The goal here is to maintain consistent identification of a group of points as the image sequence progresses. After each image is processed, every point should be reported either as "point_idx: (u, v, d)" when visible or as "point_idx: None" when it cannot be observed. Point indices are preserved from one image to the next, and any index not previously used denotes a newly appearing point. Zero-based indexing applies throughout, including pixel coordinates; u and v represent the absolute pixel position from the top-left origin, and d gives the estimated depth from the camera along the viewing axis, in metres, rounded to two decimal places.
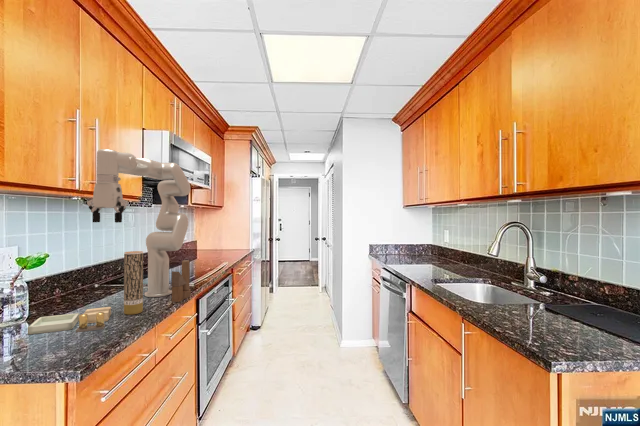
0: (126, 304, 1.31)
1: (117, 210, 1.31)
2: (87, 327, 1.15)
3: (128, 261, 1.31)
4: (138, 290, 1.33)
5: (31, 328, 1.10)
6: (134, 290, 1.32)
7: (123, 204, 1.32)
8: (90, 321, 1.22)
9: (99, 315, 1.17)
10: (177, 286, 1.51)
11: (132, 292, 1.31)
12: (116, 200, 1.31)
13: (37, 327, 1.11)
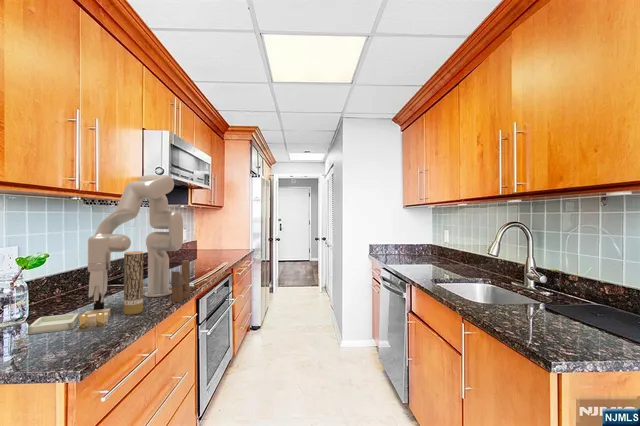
0: (126, 304, 1.31)
1: (103, 299, 1.32)
2: (87, 327, 1.15)
3: (128, 261, 1.31)
4: (138, 290, 1.33)
5: (31, 328, 1.10)
6: (134, 290, 1.32)
7: None
8: (89, 323, 1.20)
9: (99, 315, 1.17)
10: (177, 286, 1.51)
11: (132, 292, 1.31)
12: None
13: (37, 327, 1.11)
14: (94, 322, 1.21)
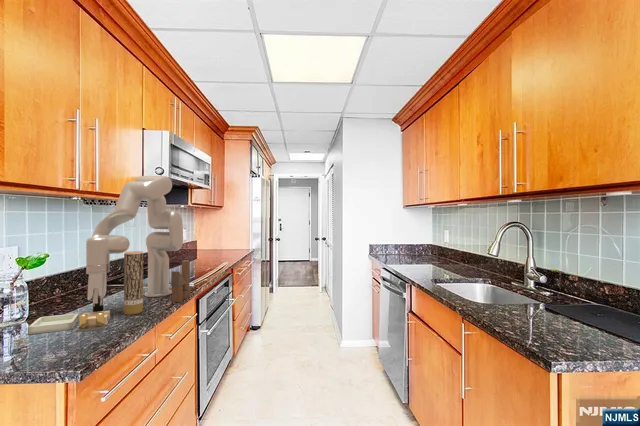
0: (126, 304, 1.31)
1: (102, 302, 1.29)
2: (87, 327, 1.15)
3: (128, 261, 1.31)
4: (138, 290, 1.33)
5: (31, 328, 1.10)
6: (134, 290, 1.32)
7: None
8: None
9: (99, 315, 1.17)
10: (177, 286, 1.51)
11: (132, 292, 1.31)
12: None
13: (37, 327, 1.11)
14: (93, 324, 1.18)
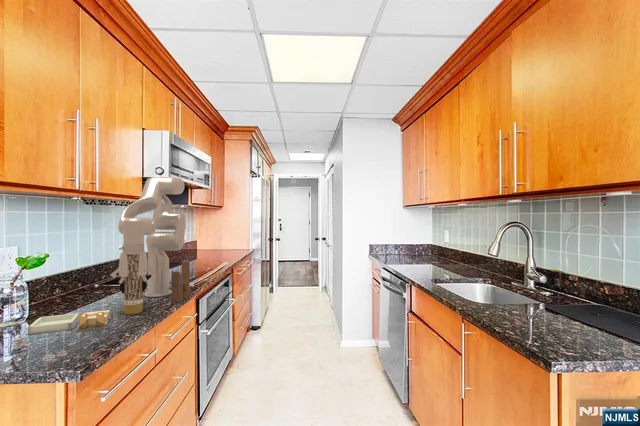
0: (126, 304, 1.31)
1: None
2: (87, 327, 1.15)
3: (128, 261, 1.31)
4: (138, 290, 1.33)
5: (31, 328, 1.10)
6: (134, 290, 1.32)
7: None
8: (88, 325, 1.17)
9: (99, 315, 1.17)
10: (177, 286, 1.51)
11: (132, 292, 1.31)
12: None
13: (37, 327, 1.11)
14: (93, 324, 1.18)
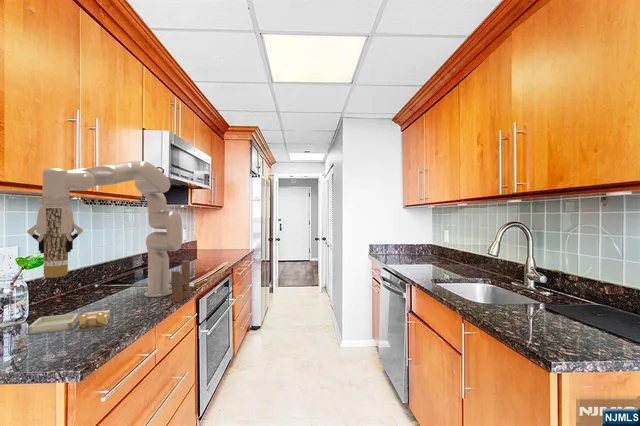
0: (45, 265, 1.15)
1: None
2: (87, 327, 1.15)
3: (47, 216, 1.14)
4: (60, 250, 1.16)
5: (31, 328, 1.10)
6: (55, 249, 1.15)
7: None
8: (88, 325, 1.17)
9: (99, 315, 1.17)
10: (177, 286, 1.51)
11: (52, 251, 1.15)
12: None
13: (37, 327, 1.11)
14: (93, 324, 1.18)
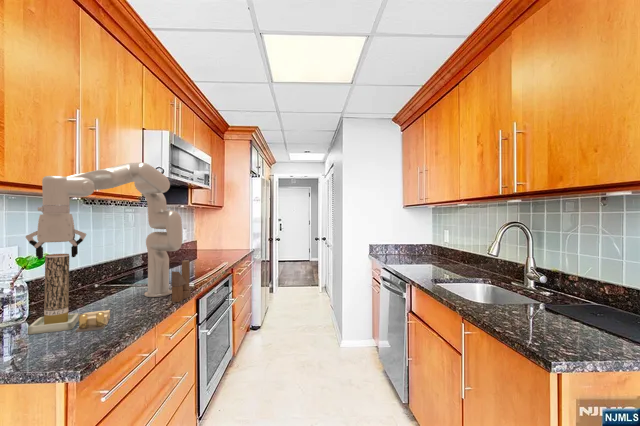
0: (46, 314, 1.15)
1: None
2: (87, 327, 1.15)
3: (49, 265, 1.15)
4: (61, 298, 1.16)
5: (31, 328, 1.10)
6: (56, 298, 1.15)
7: None
8: (88, 325, 1.17)
9: (99, 315, 1.17)
10: (177, 286, 1.51)
11: (53, 301, 1.15)
12: None
13: (37, 327, 1.11)
14: (93, 324, 1.18)
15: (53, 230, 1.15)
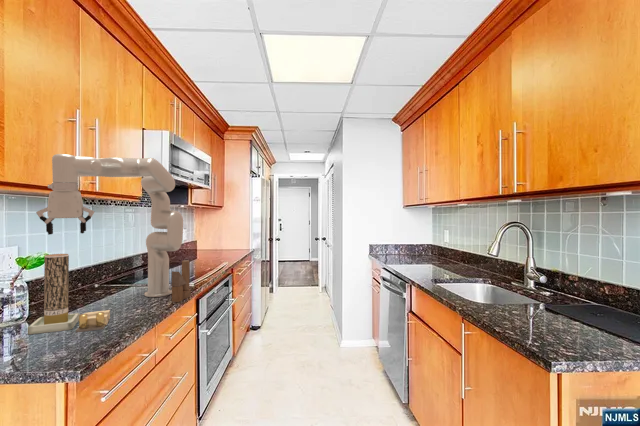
0: (45, 314, 1.15)
1: None
2: (87, 327, 1.15)
3: (48, 265, 1.15)
4: (61, 298, 1.16)
5: (31, 328, 1.10)
6: (55, 298, 1.15)
7: None
8: (88, 325, 1.17)
9: (99, 315, 1.17)
10: (177, 286, 1.51)
11: (53, 301, 1.15)
12: None
13: (37, 327, 1.11)
14: (93, 324, 1.18)
15: (63, 206, 1.20)
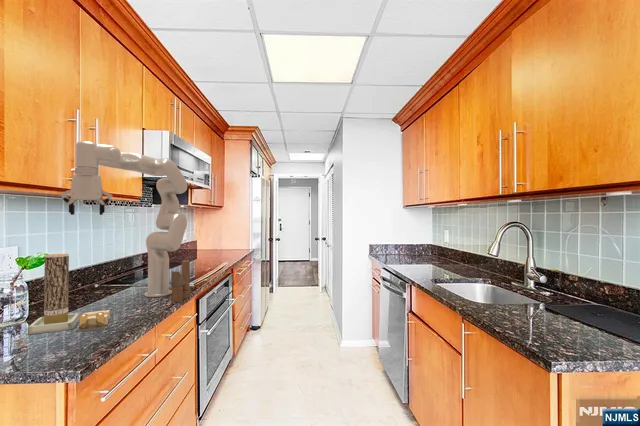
0: (45, 314, 1.15)
1: None
2: (87, 327, 1.15)
3: (48, 265, 1.15)
4: (61, 298, 1.16)
5: (31, 328, 1.10)
6: (55, 298, 1.15)
7: None
8: (88, 325, 1.17)
9: (99, 315, 1.17)
10: (177, 286, 1.51)
11: (53, 301, 1.15)
12: None
13: (37, 327, 1.11)
14: (93, 324, 1.18)
15: (85, 189, 1.30)
